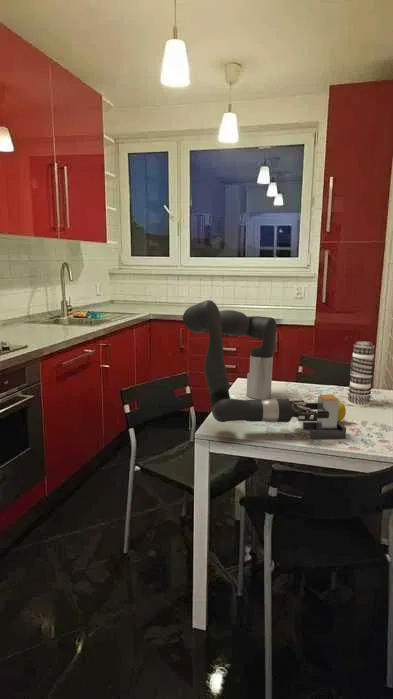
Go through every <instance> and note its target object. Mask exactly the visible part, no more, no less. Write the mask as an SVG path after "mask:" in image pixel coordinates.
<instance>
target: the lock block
mask: <svg viewBox="0 0 393 699" xmlns="http://www.w3.org/2000/svg"><path fill="white" fill-rule="evenodd" d="M339 401H340V400H339V398H337V397H336V396H335V395H334V394H319V396H318V399H317V403H318V408H317V410H316V411H328V412H329V418H317V421H316V430H337V419H338V408H339Z"/></svg>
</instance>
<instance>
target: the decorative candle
mask: <svg viewBox="0 0 393 699" xmlns="http://www.w3.org/2000/svg"><path fill="white" fill-rule="evenodd" d="M352 346H353V351H352V354H351V355H350V358H349V359H350V361H351V362H350V363H349V364H350V365H349V366H350V367H349V369H350V372H349V374H350V381H349V385H348V388H349V389H348V393H347V404H349V405H351V406H354V407H359V408H360V407H361V408H363V407H364V408H365V407H369V406H370V402H371V394H372V391H371V390H372V383H371V382H372V378H373V375H374V373H373V372H374V368H373V367H375V364H374V363H375V362H376V360H374V358H375V355H374V351H375V348H376V345H373V342H371V341H365V340H364V341H363V340H360V341H356V342H355V344H353V345H352Z"/></svg>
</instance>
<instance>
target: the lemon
mask: <svg viewBox="0 0 393 699" xmlns="http://www.w3.org/2000/svg"><path fill="white" fill-rule="evenodd" d="M346 410H347V409H346V406H345V404H344V403H343V402H342V401H340V400H339V408H338V419H337V420H338V421H339V422H340V421H342V420H344V419H345V417H346V414H347V413H346V412H347V411H346Z"/></svg>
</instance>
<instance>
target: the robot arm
mask: <svg viewBox="0 0 393 699" xmlns="http://www.w3.org/2000/svg"><path fill="white" fill-rule="evenodd" d="M182 322H183V324H184V326H185V328H186V329H187V330H189V331H190V332H192V333H194V334H206V333H207V334H208V346H207V351H206V355H205V359H204V364H203V372H204V377H205V380H206V386H207V390H208V393H209V394H208V395H209V404H210V410H211V414H212V417H213V418H214V420H216V421H217V422H220V423H226V422H240V421H243V422H252V423H256V422H257V423H259V422H261V423H289V422H291V421H292V419H293V418H296V419H297V422H316V421H317V418H329V412H328V411H317V408H318V402H308V401H305V400H304V399H300V400H299V399H297V400H295V399H293V400H292V399H291V400H290V399H289V398H271V397H272V396H271V395H272V382H273V381H272V380H273V362H274V360H273V359H274V352H275V346H276V338H277V337H276V336H277V320H275V318H273V317H271V316H270V317H269V316H260V315H256V316H255V315H253V316H252V315H251V316H249V315H248V316H247V315H246V314H245V313H244V312H242V311H237V310H233V309H232V310H231V309H225V310H219V308H218V305H217V304H216V303H215V302H214V301H213V300H211V299H210V300H209V299H207V300H204V301H201V302H199V303H196V304H194V305H191V306H189V307H188V308H187V309H186V310H185V311H184V312H183V314H182ZM223 335H224V336H225V335H227V336H232V337H241V336H247V337H249V338H252V339H256V340H257V339H258V340H262V342H261V344H260V345H258V346H255V347H252V348H251V349H250V353H249V354H250V356H249V372H247V375H246V395H245V396H248V397H249V398H251V399H237V398H231V397H230V382H229V377H228V372H227V368H226V361H225V357H224V356H225V355H224V344H223V343H224V342H223Z"/></svg>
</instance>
